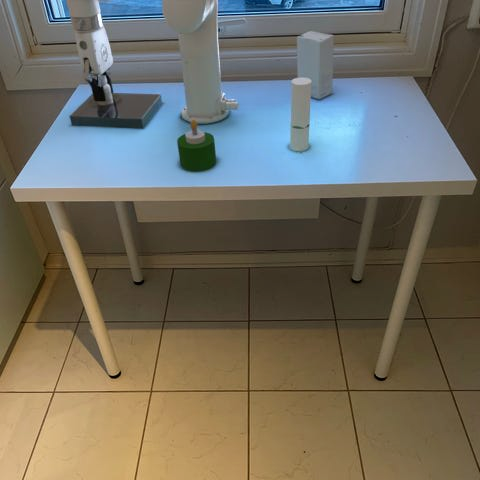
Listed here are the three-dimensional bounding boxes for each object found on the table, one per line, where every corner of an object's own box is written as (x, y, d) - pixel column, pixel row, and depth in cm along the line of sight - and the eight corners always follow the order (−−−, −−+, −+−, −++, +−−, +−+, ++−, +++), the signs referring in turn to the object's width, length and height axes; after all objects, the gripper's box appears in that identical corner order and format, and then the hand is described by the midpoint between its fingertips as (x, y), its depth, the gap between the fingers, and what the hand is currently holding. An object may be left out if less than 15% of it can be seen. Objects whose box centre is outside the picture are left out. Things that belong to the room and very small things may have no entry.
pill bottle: (115, 103, 144) (109, 74, 139) (111, 109, 141) (105, 80, 135) (100, 103, 144) (93, 74, 139) (95, 109, 141) (88, 80, 136)
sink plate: (162, 103, 145) (160, 94, 143) (143, 128, 134) (141, 119, 132) (95, 101, 149) (93, 92, 147) (71, 125, 138) (69, 116, 136)
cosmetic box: (332, 93, 144) (336, 35, 133) (318, 100, 141) (321, 41, 130) (309, 86, 148) (311, 29, 138) (295, 93, 145) (296, 34, 135)
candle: (180, 155, 122) (174, 113, 115) (215, 152, 123) (211, 110, 116) (180, 172, 116) (173, 129, 109) (216, 169, 117) (213, 126, 110)
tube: (287, 145, 123) (287, 79, 113) (303, 141, 124) (305, 76, 114) (295, 152, 120) (297, 86, 110) (311, 148, 122) (315, 82, 111)
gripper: (87, 32, 122) (105, 110, 134) (114, 12, 133) (128, 85, 146) (57, 32, 123) (78, 109, 136) (87, 12, 135) (103, 84, 147)
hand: (104, 96), depth 141 cm, fingers closed on pill bottle, 4 cm apart
